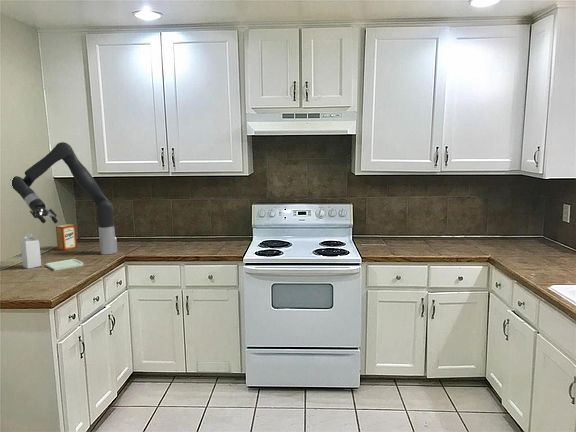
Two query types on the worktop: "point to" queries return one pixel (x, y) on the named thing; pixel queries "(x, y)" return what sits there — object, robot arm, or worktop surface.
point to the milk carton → (30, 251)
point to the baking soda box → (66, 237)
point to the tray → (64, 264)
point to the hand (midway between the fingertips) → (50, 222)
